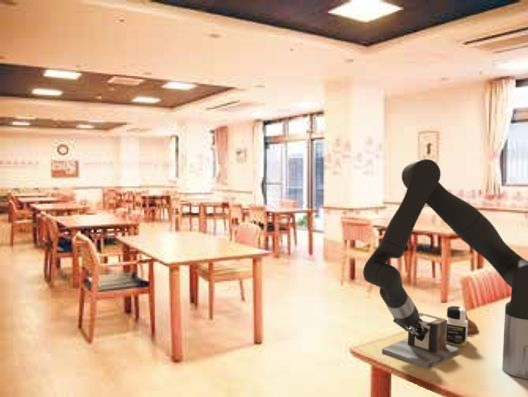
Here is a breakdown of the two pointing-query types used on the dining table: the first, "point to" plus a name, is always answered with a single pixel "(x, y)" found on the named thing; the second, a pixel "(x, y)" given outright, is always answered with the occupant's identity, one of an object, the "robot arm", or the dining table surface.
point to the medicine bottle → (456, 326)
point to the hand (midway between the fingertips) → (421, 338)
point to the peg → (425, 341)
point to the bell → (471, 326)
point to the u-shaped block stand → (421, 355)
